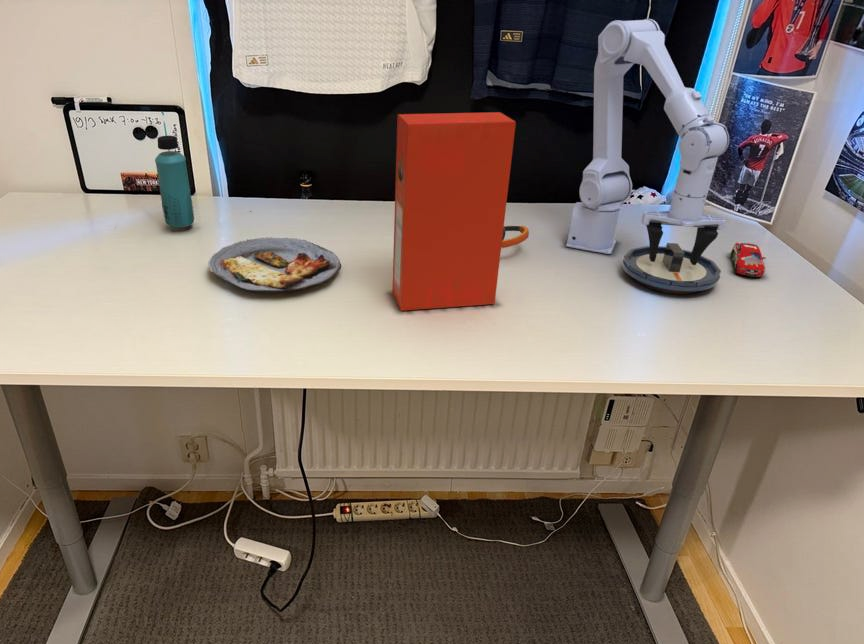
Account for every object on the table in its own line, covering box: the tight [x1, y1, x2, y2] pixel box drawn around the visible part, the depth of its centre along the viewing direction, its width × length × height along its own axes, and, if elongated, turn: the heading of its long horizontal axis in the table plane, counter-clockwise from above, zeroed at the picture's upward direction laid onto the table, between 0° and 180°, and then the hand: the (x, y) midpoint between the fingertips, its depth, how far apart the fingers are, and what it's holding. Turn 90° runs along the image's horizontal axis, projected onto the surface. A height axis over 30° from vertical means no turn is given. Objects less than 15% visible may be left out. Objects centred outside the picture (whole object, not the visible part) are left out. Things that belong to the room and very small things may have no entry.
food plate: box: [208, 236, 342, 293], centre depth 132 cm, size 25×23×4 cm
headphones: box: [501, 225, 530, 249], centre depth 145 cm, size 17×5×20 cm
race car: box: [730, 241, 767, 278], centre depth 139 cm, size 13×5×4 cm, turn 161°
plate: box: [621, 242, 722, 292], centre depth 132 cm, size 18×18×5 cm
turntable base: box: [635, 279, 698, 295], centre depth 134 cm, size 13×13×2 cm
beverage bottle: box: [154, 135, 196, 228], centre depth 146 cm, size 6×7×20 cm
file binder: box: [391, 111, 517, 312], centre depth 116 cm, size 8×17×32 cm, turn 101°
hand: (672, 261), depth 132 cm, fingers open, 7 cm apart
